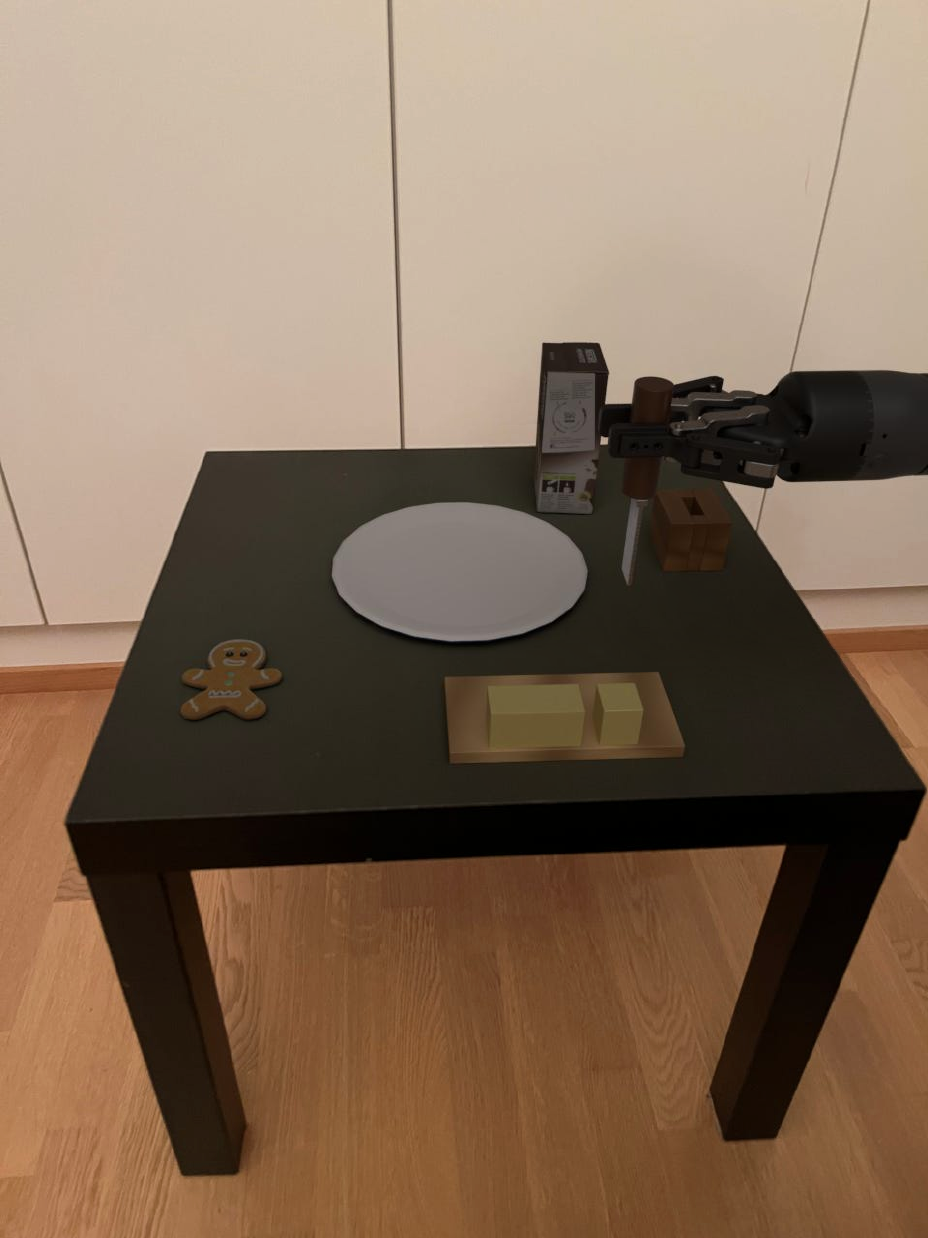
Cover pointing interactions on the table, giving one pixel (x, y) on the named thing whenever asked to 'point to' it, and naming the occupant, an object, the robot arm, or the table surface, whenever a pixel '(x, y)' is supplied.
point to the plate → (459, 572)
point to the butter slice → (617, 713)
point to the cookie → (230, 681)
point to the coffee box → (569, 426)
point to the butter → (534, 716)
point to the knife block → (689, 530)
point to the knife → (643, 460)
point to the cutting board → (654, 738)
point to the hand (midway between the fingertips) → (605, 430)
